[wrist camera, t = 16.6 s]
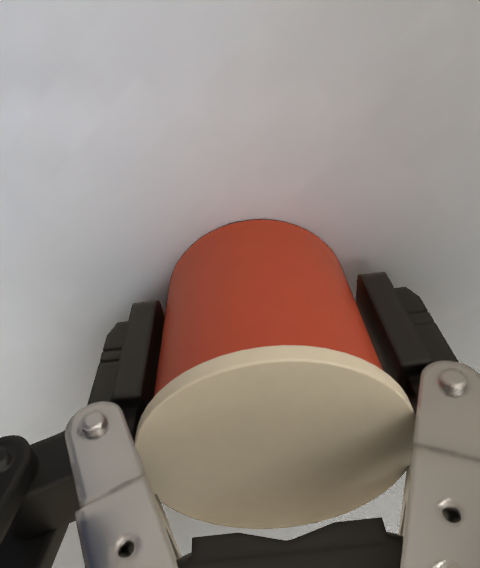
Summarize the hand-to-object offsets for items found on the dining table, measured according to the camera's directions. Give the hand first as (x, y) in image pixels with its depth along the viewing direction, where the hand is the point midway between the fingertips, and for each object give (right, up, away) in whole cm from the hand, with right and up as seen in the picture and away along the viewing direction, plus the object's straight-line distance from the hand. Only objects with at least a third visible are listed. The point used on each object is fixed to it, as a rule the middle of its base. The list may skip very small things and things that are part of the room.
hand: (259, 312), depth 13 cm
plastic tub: (0, 0, +1) cm, 1 cm away
